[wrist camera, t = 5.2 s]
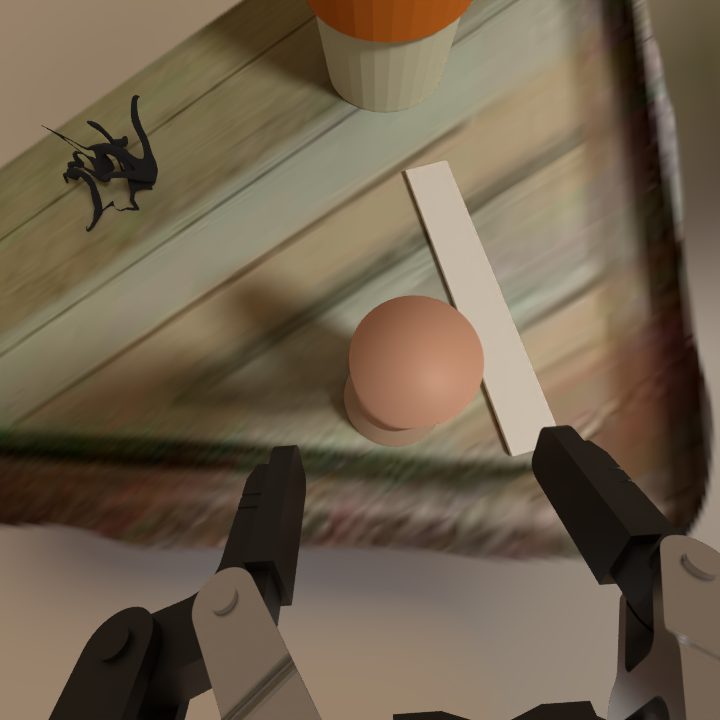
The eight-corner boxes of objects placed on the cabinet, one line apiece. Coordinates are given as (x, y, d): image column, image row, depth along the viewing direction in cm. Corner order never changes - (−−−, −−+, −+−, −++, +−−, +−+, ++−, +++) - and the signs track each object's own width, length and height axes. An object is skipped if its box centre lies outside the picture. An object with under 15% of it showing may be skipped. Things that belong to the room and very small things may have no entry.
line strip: (510, 456, 18) (512, 456, 18) (405, 173, 23) (405, 170, 23) (559, 441, 18) (563, 441, 18) (445, 163, 23) (446, 160, 23)
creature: (76, 241, 24) (162, 238, 22) (-23, 186, 19) (76, 175, 17) (109, 154, 26) (192, 143, 23) (27, 82, 21) (123, 60, 18)
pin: (359, 457, 19) (349, 480, 9) (335, 366, 20) (303, 298, 10) (452, 431, 19) (542, 424, 9) (422, 342, 20) (472, 252, 10)
